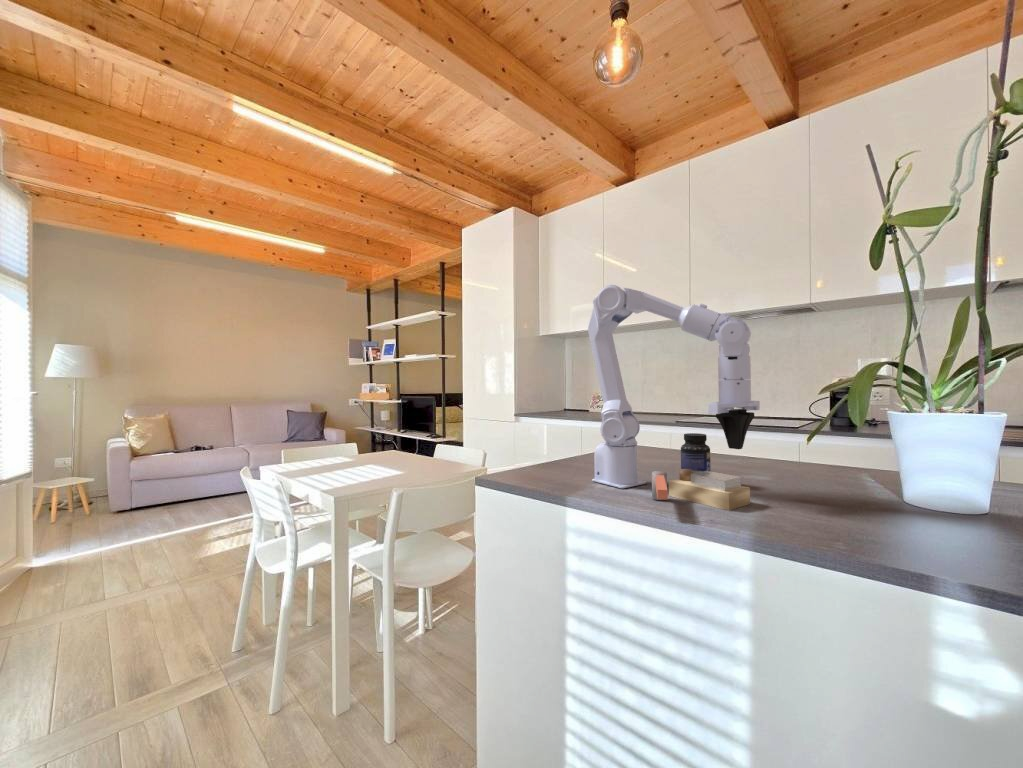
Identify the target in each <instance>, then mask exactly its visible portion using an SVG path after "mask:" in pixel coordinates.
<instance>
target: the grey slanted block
mask: <svg viewBox="0 0 1023 768" xmlns="http://www.w3.org/2000/svg"><path fill="white" fill-rule="evenodd" d="M741 479H742V478H741V476H738V475H732V474H728V473H727V474H726V473H721V472H715V471H712V470H711V471H703V472H698V473H693V474H691V484H692V485H697V486H701V487H706V488H711V489H715V490H720V491H724V492H725V491H729V490H733V489H737V488H741V486H742V483H741V482H742V481H741Z"/></svg>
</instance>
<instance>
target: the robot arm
mask: <svg viewBox="0 0 1023 768" xmlns="http://www.w3.org/2000/svg"><path fill="white" fill-rule="evenodd" d="M622 288H623V289H622ZM622 288H621V287H620V286H619V285H616V284H608V285H605V286H604V287H602V288H601V289H600V290H599V292H598V293H597V294H596V295H595V297H594V298H593V300H592V304H593V305H592V306H593V307H592V311H591V315H590V316H591V317H590V319H589V322H588V326H587V331H588V332H587V333H588V337H589V340H590V346H591V347H590V348H591V352H592V356H593V360H594V364H595V369H596V374H597V380H598V384H599V388H600V393H601V397H602V402H603V405H602V409H601V411H600V415H601V425H600V433H601V437H602V438H603V440H604V441H603V442H600V443H599V444H598V445H597V446H596V448H595V449H594V454H593V455H594V456H593V457H594V462H593V463H594V478H592V479H591V481H592V482H595V483H599V484H602V485H603V484H604V485H606V486H607V485H608V486H611V487H615V488H619V489H627V488H631V487H636V486H640V485H645V484H647V481H645V480H641V479H639V478H638V475H639V473H638V471H639V468H638V441H637V440H636V437H637V436H638V434H639V433H640V427H641V425H640V422H639V419H638V418H637V416H635V414H634V413H633V412H634V411H633V408H632V406H631V405H630V402H629V401H628V400H627V394H626V391H625V386H624V382H623V377H622V372H621V368H620V364H619V363H620V362H619V359H618V355H617V350H616V349H617V348H616V345H615V341H614V336H613V335H614V334H613V333H614V332H615V330H616V329H617V327H618V326H620V324H621V323H622V322H623V321H625V320H626V319H629V317H631V316H632V314H633V313H634V314H641V313H643V312H648V313H652V314H654V315H657V316H661V317H664V318H666V319H669V320H672V321H676V322H677V323H678V324H679V326H680V328H681V330H682V331H683V332H685V333H688V334H691V335H694V336H697V337H699V338H702V339H704V340H705V341H709V342H715V341H717V343H718V344H719V345H718V357H717V363H718V364H717V367H718V369H717V371H718V373H717V374H718V375H717V377H718V379H717V380H718V382H717V383H718V401H717V402H712V403H708V404H707V406H708V407H707V410H708V412H707V413H708V414H714V415H715V418H716V419H717V421H718V422H719V424H720V426H721V428H722V431H723V433H724V436H725V439H726V443H727V446H728V449H731V450H732V449H734V450H742V449H743V447H744V444H745V440H746V437H747V436H746V435H747V432H748V429H749V427H750V426H751V423H752V421H753V420H754V418H755V412H749V411H760V410H761V409H760V406H761V405H760V400H752V383H751V382H752V376H751V375H752V374H751V370H752V368H751V365H752V364H751V363H752V362H751V356H750V352H751V348H750V344H749V341H750V339H751V334H752V333H751V329H750V327H749V326H748V324H747V323H746V321H744V320H742V319H740V318H738V317H737V318H736V317H731V314H730V313H727V312H724V313H720V312H718V311H715V310H713V309H712V310H711V309H709V308H708V306H707V304H703V303H699V305H697V304H691V305H689V306H687V307H683V306H681V305H677V304H674V303H672V302H670V301H667V300H665V299H663V298H660V297H657V296H654V295H651V294H650V293H647V292H644V291H642V290H636V289H633V288H629V287H622ZM730 317H731V318H730Z"/></svg>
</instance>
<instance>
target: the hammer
mask: <svg viewBox="0 0 1023 768" xmlns="http://www.w3.org/2000/svg"><path fill="white" fill-rule="evenodd" d="M668 496H669V489H668V473H667V472H666V471H660V470H659V471H658V470H653V471H652V472H651V498H652V499H653V500H656V501H666V500H667V501H668V500H669V499H668Z"/></svg>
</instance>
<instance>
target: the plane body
mask: <svg viewBox="0 0 1023 768" xmlns="http://www.w3.org/2000/svg"><path fill="white" fill-rule="evenodd" d="M678 473H679V478H675V479H671V480H668V496H669V497H673V498H677V499H679V500H680V499H681V500H685V501H689V502H692V503H697V504H700V505H704V506H708V507H709V506H710V507H713V508H718V509H720V510H721V509H722V510H725V511H732V510H735V509H738V508H741V507H745V506H748V505H750V504H751V487H748V486H742V485H741V488H737V489H733V490H729V491H725V492H724V491H720V490H715V489H711V488H706V487H701V486H697V485H692V484H691V474H692V470H691V469H681V468H680V469H679V472H678Z"/></svg>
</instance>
